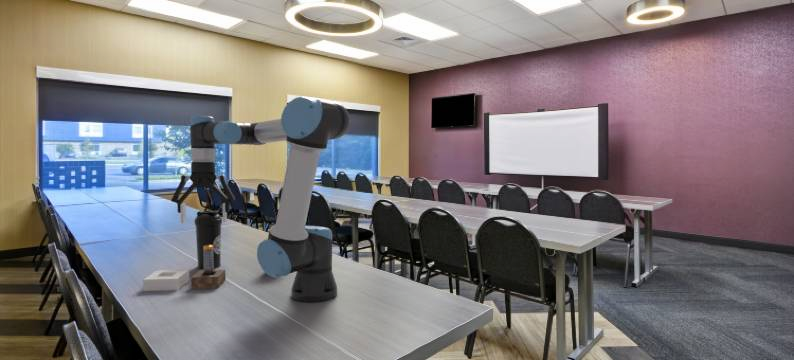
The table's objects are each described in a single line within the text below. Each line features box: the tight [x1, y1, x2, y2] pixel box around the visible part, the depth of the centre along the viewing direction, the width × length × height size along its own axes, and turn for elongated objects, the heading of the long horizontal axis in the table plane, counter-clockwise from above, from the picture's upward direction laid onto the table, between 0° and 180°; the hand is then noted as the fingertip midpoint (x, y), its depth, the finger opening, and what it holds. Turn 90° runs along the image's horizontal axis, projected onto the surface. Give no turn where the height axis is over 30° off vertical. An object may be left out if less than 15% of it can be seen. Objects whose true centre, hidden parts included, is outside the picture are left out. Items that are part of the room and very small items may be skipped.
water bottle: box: [194, 210, 223, 270], centre depth 172 cm, size 10×10×23 cm
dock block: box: [142, 269, 190, 292], centre depth 148 cm, size 11×11×4 cm
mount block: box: [190, 269, 226, 290], centre depth 150 cm, size 9×9×4 cm
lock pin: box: [203, 245, 215, 275], centre depth 150 cm, size 3×3×14 cm
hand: (204, 221), depth 147 cm, fingers open, 13 cm apart
